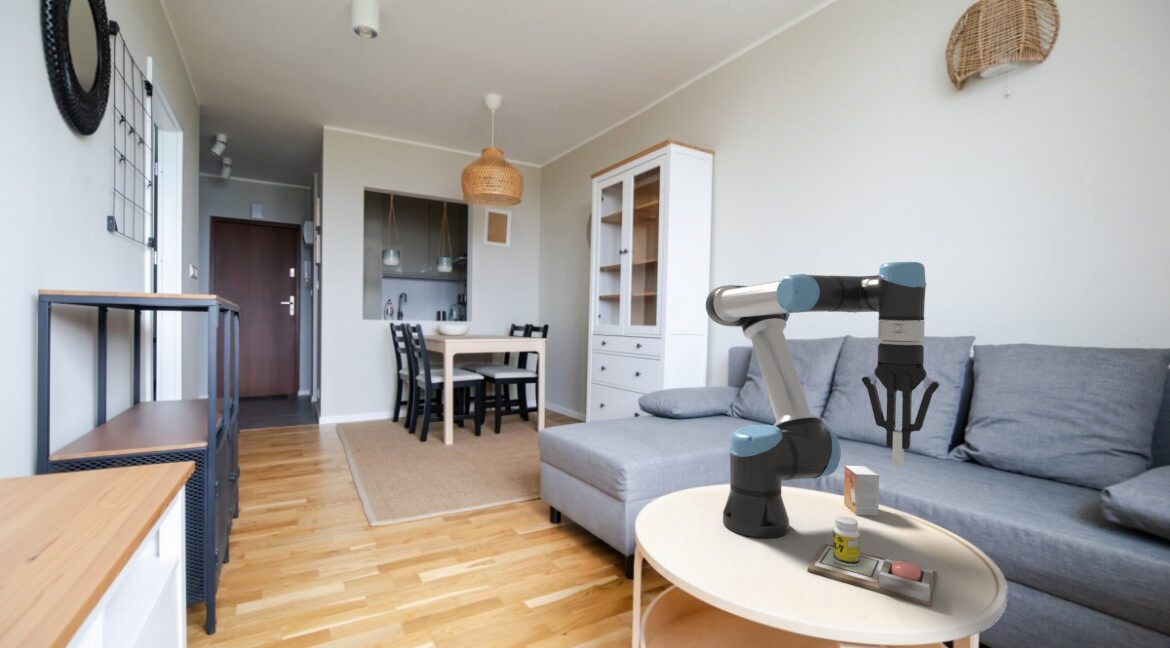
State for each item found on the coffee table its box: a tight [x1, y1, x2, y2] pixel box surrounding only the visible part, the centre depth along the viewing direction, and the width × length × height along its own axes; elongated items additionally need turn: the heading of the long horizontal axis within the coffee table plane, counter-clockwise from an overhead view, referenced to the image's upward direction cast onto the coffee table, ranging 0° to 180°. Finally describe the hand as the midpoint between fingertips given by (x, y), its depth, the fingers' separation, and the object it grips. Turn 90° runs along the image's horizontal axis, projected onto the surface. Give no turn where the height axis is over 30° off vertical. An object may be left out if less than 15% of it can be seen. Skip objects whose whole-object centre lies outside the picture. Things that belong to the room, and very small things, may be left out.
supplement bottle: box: [832, 515, 861, 566], centre depth 102 cm, size 5×5×8 cm
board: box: [806, 543, 938, 608], centre depth 99 cm, size 20×14×3 cm
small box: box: [843, 465, 880, 517], centre depth 132 cm, size 8×6×10 cm
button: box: [892, 560, 920, 582], centre depth 92 cm, size 4×4×3 cm
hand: (897, 464), depth 98 cm, fingers closed
